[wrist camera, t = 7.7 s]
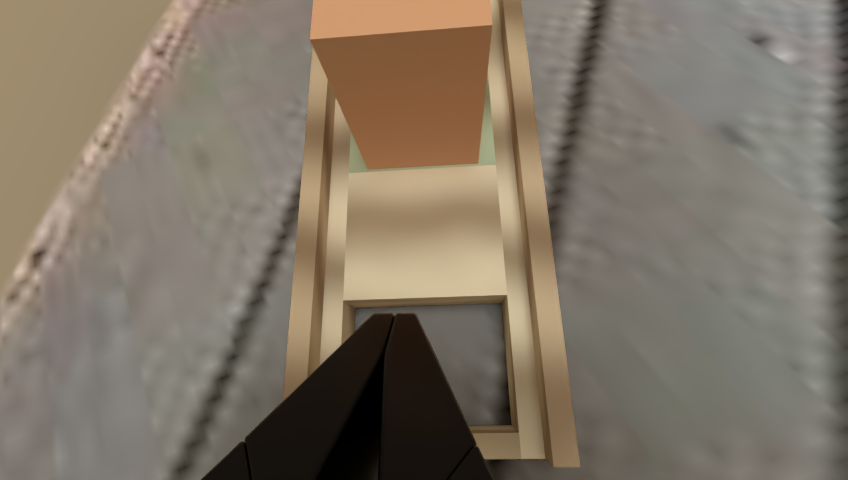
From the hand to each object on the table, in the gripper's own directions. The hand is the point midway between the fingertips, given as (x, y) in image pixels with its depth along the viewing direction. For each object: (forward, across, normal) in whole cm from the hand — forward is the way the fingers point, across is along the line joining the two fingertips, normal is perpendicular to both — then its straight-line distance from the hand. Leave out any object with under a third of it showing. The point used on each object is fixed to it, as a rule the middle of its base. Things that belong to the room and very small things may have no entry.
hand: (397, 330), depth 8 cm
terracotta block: (+17, 0, -1) cm, 17 cm away
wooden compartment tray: (+17, 0, +2) cm, 17 cm away
